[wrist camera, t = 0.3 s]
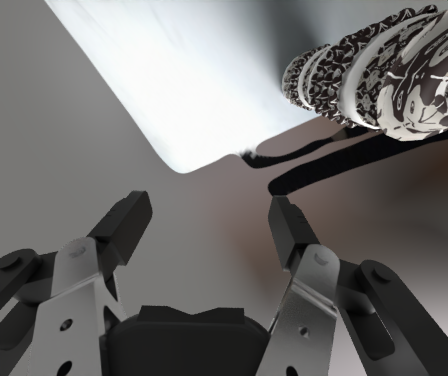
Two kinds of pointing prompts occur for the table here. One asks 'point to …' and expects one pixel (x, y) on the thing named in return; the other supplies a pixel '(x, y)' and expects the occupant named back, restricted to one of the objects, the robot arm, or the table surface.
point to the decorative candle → (380, 76)
